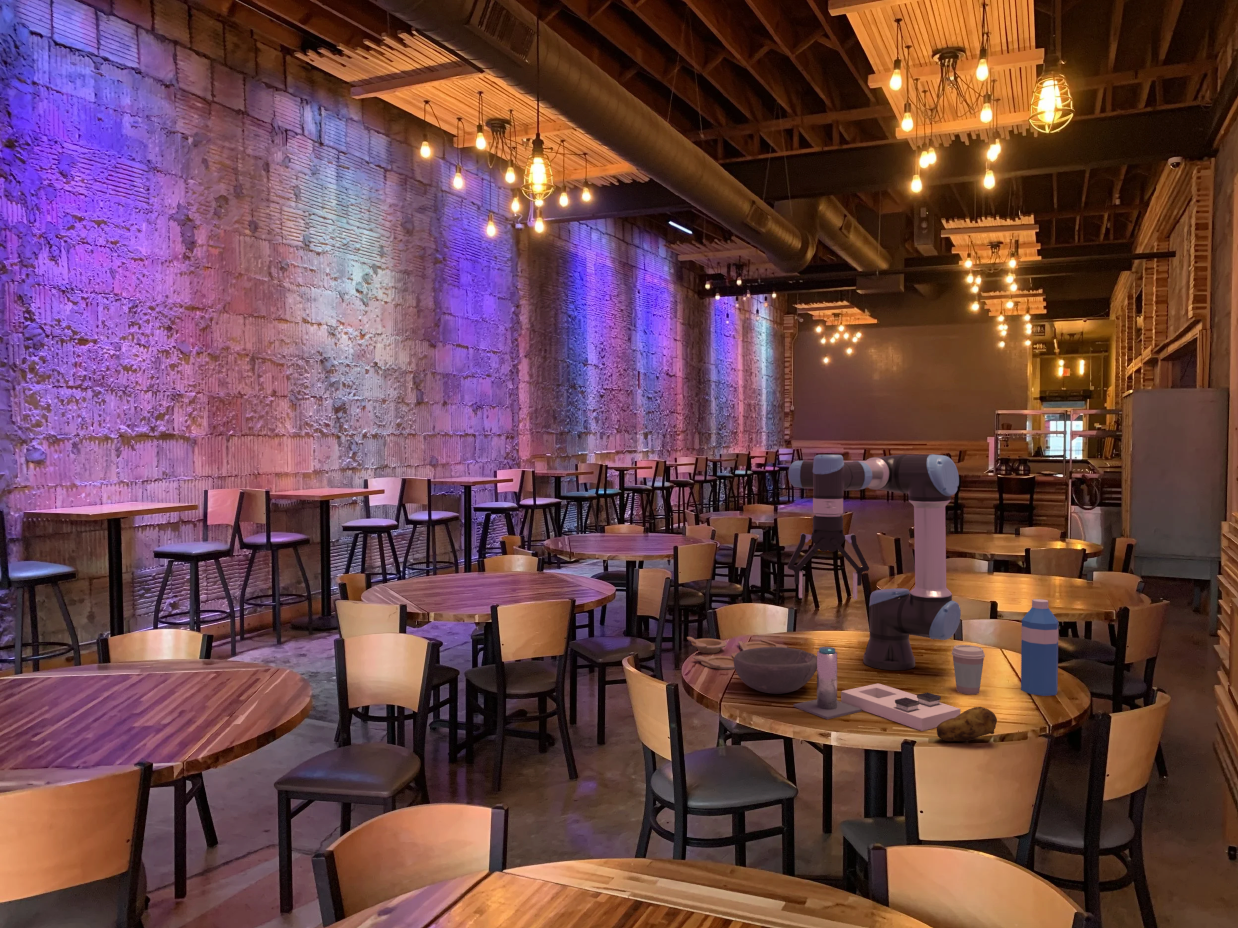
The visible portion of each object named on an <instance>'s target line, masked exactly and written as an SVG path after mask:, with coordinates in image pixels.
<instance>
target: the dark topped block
mask: <svg viewBox="0 0 1238 928" xmlns="http://www.w3.org/2000/svg"><path fill="white" fill-rule="evenodd" d="M916 695H917V698H918V701H919V704H921V705H925V706H928V707H933V706H938V705H939V702H940V701H941V700H942V699H941V696H940V695H937V694H934V693H932V692H931V693H930V692H924V693H923V692H922V693H919V694H916Z"/></svg>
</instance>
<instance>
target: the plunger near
mask: <svg viewBox="0 0 1238 928" xmlns="http://www.w3.org/2000/svg"><path fill="white" fill-rule="evenodd" d="M895 703H896V709H899V710H902V711H905V712H908V713H909V712H913V711H917V710H918V705H919V701H916V700H913V699H909V698H901V699H897V700H895Z"/></svg>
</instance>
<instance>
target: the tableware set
mask: <svg viewBox="0 0 1238 928" xmlns="http://www.w3.org/2000/svg"><path fill="white" fill-rule="evenodd" d="M686 640H688V641H690V642H691V645H692V646H693V647H696V648H697V650H698V652H700V653H702V654H717V653H720V651H721V649H722V648H725V647H726V646H727V645H728V644H727V642H726V641H725V640H722V639H717V638H716V639H715V638H709V637H708V638H697V639H695V638H694V637H692V636H686ZM737 644H738V645H739V648H740V649H741V651H743V650H747V649H753V648H761V647H785V648H789V646H787V645H785V644H781V643H779V644H778V643H776V642H773V641H770V640H768V639H764V638H761V639H760V641H748V642H743V641H742V640H738V641H737ZM737 653H738V652H734V653H733V652H732V653H731V654H730V656H728V655H713V656H712V655H711V656H706V657H704V656H702V655H697V656H692V659H694V660H696V661H698V662H700V663H701V665H702V666H705V667H707V668H711V669H716V670H735V667H734V657H735V655H736V654H737Z"/></svg>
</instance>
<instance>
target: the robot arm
mask: <svg viewBox="0 0 1238 928" xmlns="http://www.w3.org/2000/svg"><path fill="white" fill-rule="evenodd" d="M787 476H788V481H789V483H790V484H791V485H792V486H793V487H794V488H801V489H813V495H812V496H813V498H812V513H813V514H814V515H813V517H812V533H811V534H808V533H807V534H806V533H805V532H801V533H800V535H799V536H800V537H799V542H798V544H797V546H796V548H795V550H794V552H793V553H792V555H791V557H790V560H789V561H788V564H787V566H786V567H787V569H788V570H791V571H793V572H794V573H793V574H794V575H793V577H794V578H793V579H794V584H795V585H798V598H799V599H803V571H802V569H803V568H804V566H805V565H806V564H807V563H808V562H809V561H810V560H811V558H812V557H813V556H814V555H815V554H817V553H818V551H820V552H831V553H834V552H836V551H839V553H841V555H842V556H843V557H844V558H845V560H846V561H847V562H848V563H849V564H850V566H851V567H852V568H853V569H854V570H855V571H853V572H852V599H853V600H858V586H862V584H863V583H862V581H863V579H862V578H863V577H862V575H863V573H864V572H869V570H870V567H869V565H868V563H867V561H866V559H865V557H864V555H863V553H862V551H861V549H860V547H859V544H858V543H857V536H856V534H854V533H850V534H846V535H845V534H844V516H843V515H842V514H843V513H844V491H859V490H864V489H866V488H869V489H870V490H878V491H879V490H881V491H887V492H893V493H899V494H908V502H909V503H910V504H912V505H913V518H914V519H913V521H914V524H913V525H914V527H913V528H914V577H915V578H914V581H915V586H914V587H913V588H912V589H911V590H910V589H908V588H902V587H901V588H896V587H895V588H882V589H877V590H874V591H872V592H871V594H870V596H869V604H868V607H869V639H868V642H867V645H866V648H865V651H864V653H863V664H864V665H866V666H867V667H870V668H874V669H880V670H887V671H906V670H911V669H913V668H915V666H916V658H915V656H914V653H913V650H912V645H911V642H910V635H912V636H917V637H923V638H927V639H928V638H929V639H931V640H938V641H939V640H940V641H946V640H949V639H951V638H952V637H953V635H954V634H956V631H957V630H958V628H959V625H960V622H961V617H962V616H961V615H962V614H961V607H960V604H959V603H958V602H957V601H955V600H953V593H952V592H951V591H950V589H949V588H947V554H946V553H947V551H946V550H947V547H946V541H947V539H946V536H947V535H946V506H947V505H949V503H950V502H951V501H952V499H951V498H952V496H954V495H955V494H956V493H957V491H958V490H959V489H958V487H959V485H960V476H959V472H958V468H957V466H956V464H955V462H954V461H953V459H952V458H950V456H947V455H941V454H933V453H932V454H904V453H903V454H895V455H894V454H893V455H885V456H879V457H870V458H868V459H866V460H844V457H843V455H842V454H817V455H815V456H814V457H813V460H803V459H802V460H796V461H793V462H792V463H791V464H790V466H789V468H788V475H787ZM809 540H811V541H812V542H813V544H814V545H812V546H811V548H810V549H809V550H808V552H807V553H805V555H804V556H803V557H802V558H801V559H800V560H799V561H798V563H797V564H796V565H795V563H796V562H797V559H798V558H799V556H800V555H801V552H802V550H803V548H804V547H805V543H808V542H809ZM845 540H846V541H847V543H849V544H851V547H852V549H853V551H854V553H855V555H856V557H857V558H858V560H859V562H860V564H861V566H859V565H858V564H857V562H856V561H855V560H854V559H853V558H852V557H851V556H850V555H849V553H848V552H847V550H845V549H844V547H843V546H842V544H844V542H845Z"/></svg>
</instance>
